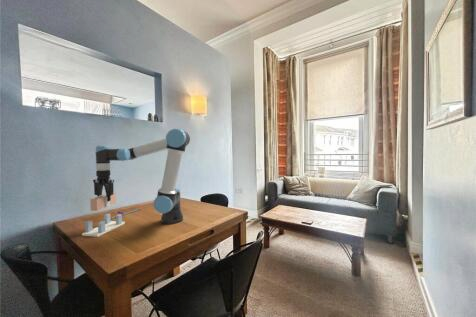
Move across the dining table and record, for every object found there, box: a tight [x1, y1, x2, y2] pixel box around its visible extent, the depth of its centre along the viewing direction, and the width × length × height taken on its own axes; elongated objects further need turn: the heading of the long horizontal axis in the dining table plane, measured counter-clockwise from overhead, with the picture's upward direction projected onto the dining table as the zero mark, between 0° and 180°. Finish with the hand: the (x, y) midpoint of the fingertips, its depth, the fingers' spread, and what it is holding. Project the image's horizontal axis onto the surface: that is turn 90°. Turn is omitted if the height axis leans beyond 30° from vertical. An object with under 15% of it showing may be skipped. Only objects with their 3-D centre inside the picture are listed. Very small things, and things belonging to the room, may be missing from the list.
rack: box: [81, 213, 125, 238], centre depth 130 cm, size 11×22×7 cm, turn 170°
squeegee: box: [110, 208, 141, 219], centre depth 163 cm, size 29×2×10 cm
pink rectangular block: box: [89, 192, 117, 212], centre depth 129 cm, size 4×18×7 cm, turn 179°
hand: (104, 205), depth 129 cm, fingers closed on pink rectangular block, 4 cm apart
